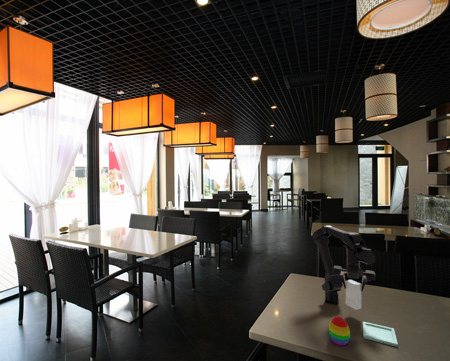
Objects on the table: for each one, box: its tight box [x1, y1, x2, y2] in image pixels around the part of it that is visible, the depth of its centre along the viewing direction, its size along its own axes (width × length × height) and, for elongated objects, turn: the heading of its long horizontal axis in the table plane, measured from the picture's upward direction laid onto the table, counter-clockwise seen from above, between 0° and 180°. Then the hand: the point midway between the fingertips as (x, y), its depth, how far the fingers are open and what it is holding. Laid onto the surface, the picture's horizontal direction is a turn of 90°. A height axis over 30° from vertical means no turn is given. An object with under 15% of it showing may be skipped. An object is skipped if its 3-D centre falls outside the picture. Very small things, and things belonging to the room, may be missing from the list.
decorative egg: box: [328, 316, 351, 346], centre depth 103 cm, size 8×8×10 cm
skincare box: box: [345, 279, 362, 311], centre depth 123 cm, size 6×4×12 cm
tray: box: [362, 321, 399, 348], centre depth 108 cm, size 12×12×1 cm
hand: (353, 289), depth 123 cm, fingers closed on skincare box, 7 cm apart
